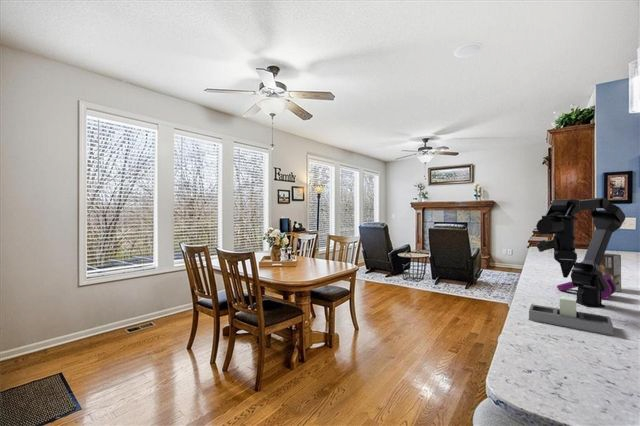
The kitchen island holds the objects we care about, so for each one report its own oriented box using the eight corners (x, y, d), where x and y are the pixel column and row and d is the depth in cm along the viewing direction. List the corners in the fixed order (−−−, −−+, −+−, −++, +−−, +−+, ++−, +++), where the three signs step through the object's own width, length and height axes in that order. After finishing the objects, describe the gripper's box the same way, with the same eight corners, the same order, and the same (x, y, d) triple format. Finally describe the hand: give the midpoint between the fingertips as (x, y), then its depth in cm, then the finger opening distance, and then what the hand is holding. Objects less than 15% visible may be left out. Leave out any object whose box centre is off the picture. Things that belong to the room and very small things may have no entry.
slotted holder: (609, 326, 92) (609, 316, 92) (613, 335, 86) (613, 325, 85) (531, 312, 105) (531, 304, 105) (528, 319, 98) (528, 310, 98)
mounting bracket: (563, 306, 130) (614, 297, 116) (553, 287, 133) (602, 276, 119) (570, 302, 135) (620, 293, 121) (560, 283, 138) (608, 273, 124)
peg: (560, 319, 98) (559, 295, 98) (575, 322, 96) (575, 298, 96) (559, 323, 95) (559, 298, 95) (576, 326, 93) (576, 301, 93)
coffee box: (622, 290, 131) (622, 254, 131) (614, 292, 129) (614, 255, 129) (596, 285, 140) (596, 252, 140) (588, 287, 138) (588, 252, 137)
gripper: (538, 230, 121) (539, 268, 122) (536, 234, 107) (536, 277, 107) (574, 231, 114) (574, 271, 115) (576, 235, 100) (577, 281, 100)
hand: (565, 275), depth 109 cm, fingers open, 9 cm apart
